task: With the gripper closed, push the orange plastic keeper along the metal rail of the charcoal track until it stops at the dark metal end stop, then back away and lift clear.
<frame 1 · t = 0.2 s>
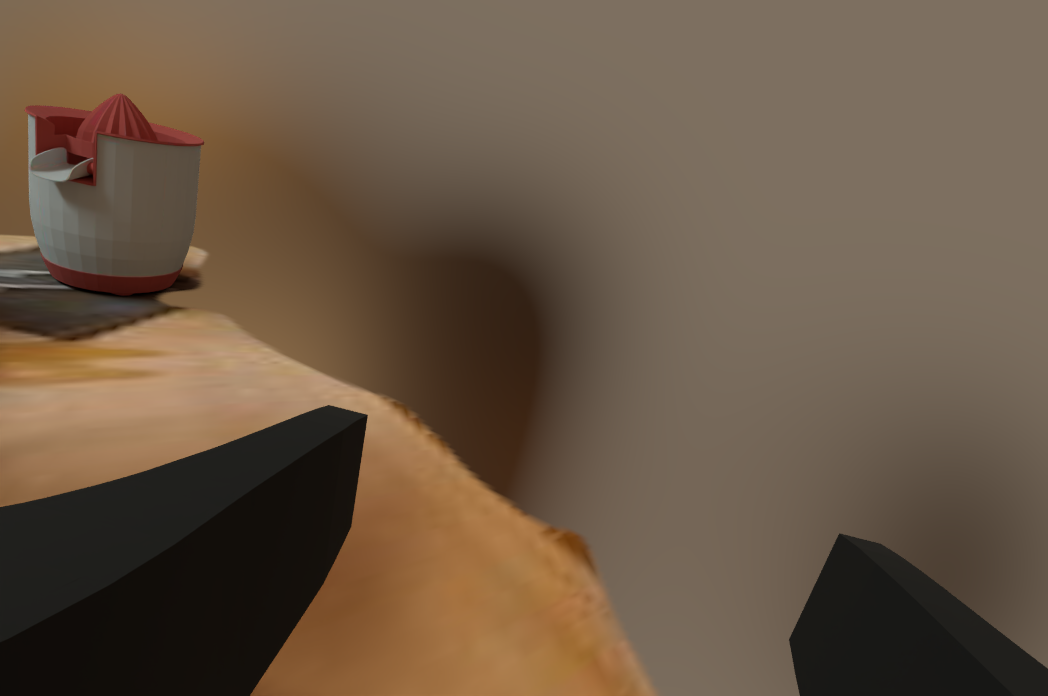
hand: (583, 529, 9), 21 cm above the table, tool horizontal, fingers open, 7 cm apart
citrus juicer: (109, 282, 70), on the table
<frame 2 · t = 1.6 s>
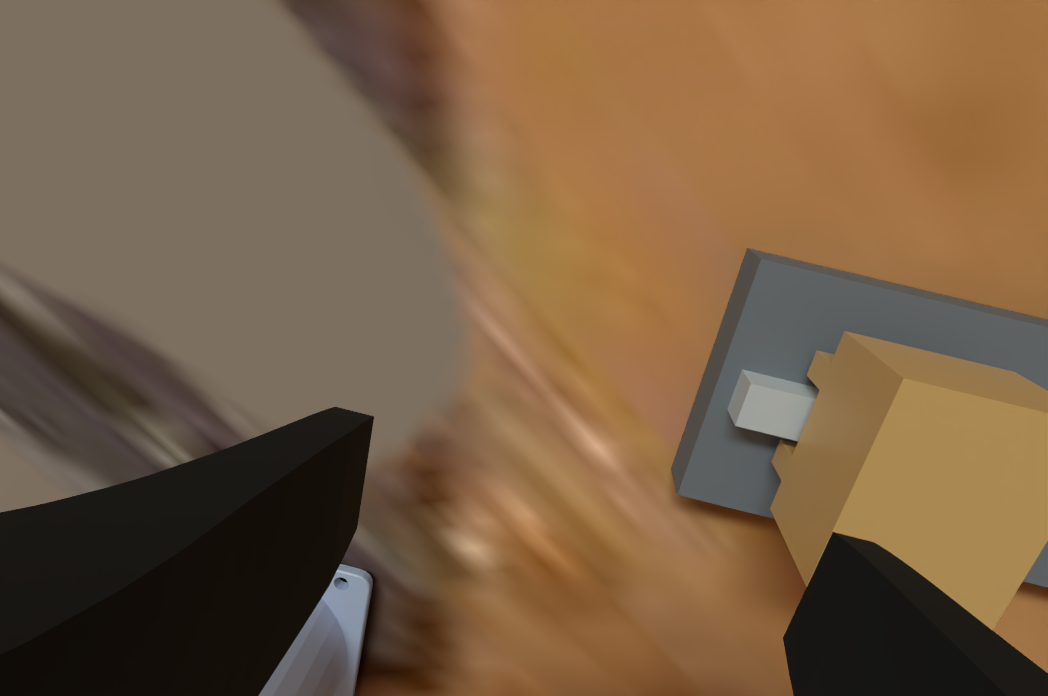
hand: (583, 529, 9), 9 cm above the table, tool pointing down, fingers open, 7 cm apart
track: (980, 432, 18), on the table
keeper: (903, 464, 14), point 4 cm above the table, slide at 0.0 cm
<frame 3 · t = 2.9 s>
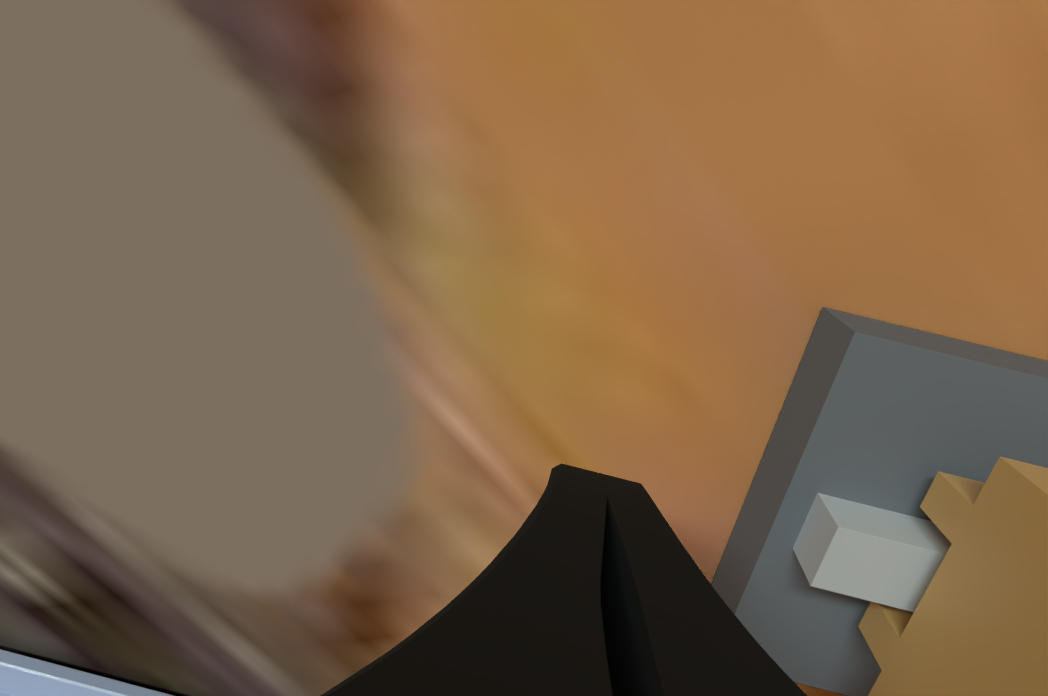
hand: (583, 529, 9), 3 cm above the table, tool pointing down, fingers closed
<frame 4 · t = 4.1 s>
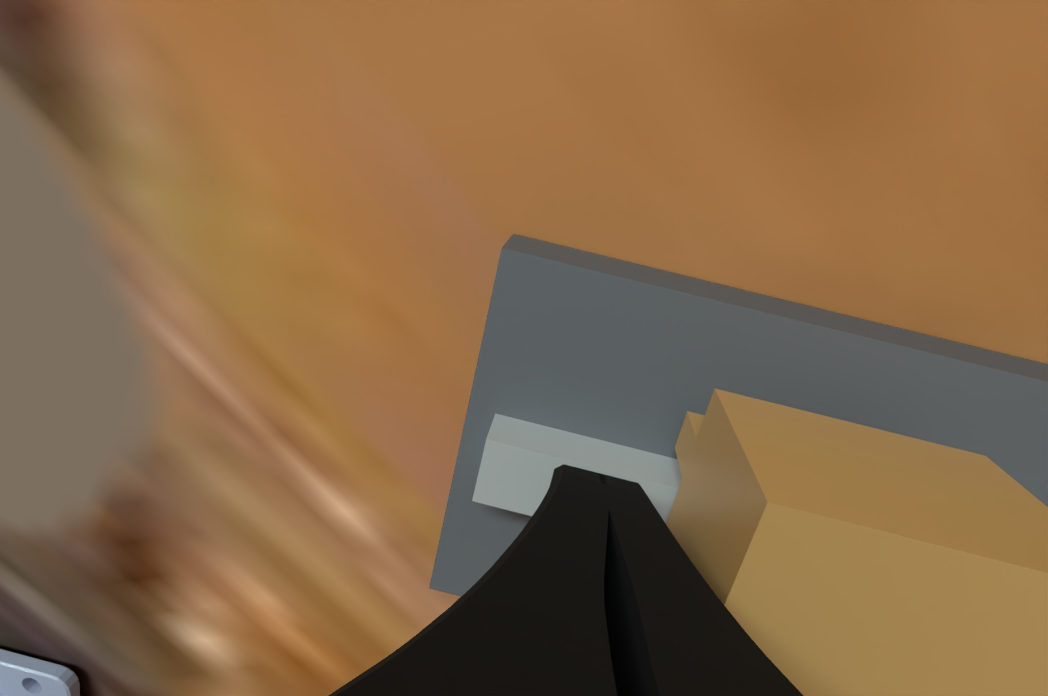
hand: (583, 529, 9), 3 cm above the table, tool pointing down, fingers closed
track: (864, 500, 13), on the table
keeper: (807, 604, 9), point 4 cm above the table, slide at 1.6 cm, touching gripper
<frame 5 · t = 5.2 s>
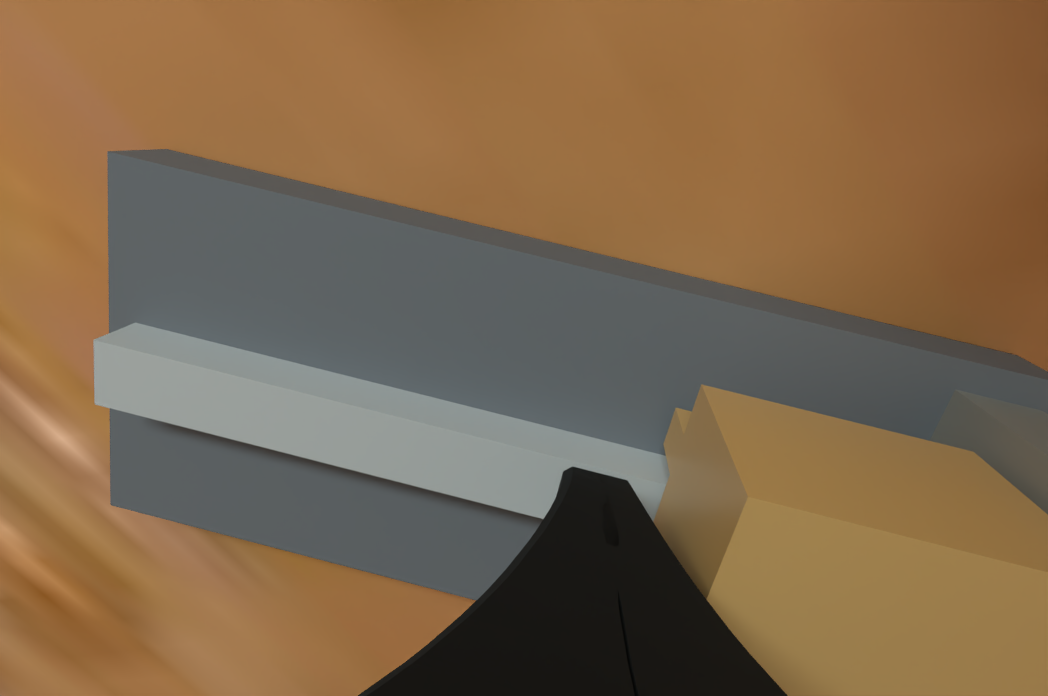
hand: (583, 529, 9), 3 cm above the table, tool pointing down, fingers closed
track: (539, 417, 13), on the table
keeper: (794, 600, 9), point 4 cm above the table, slide at 8.1 cm, touching gripper
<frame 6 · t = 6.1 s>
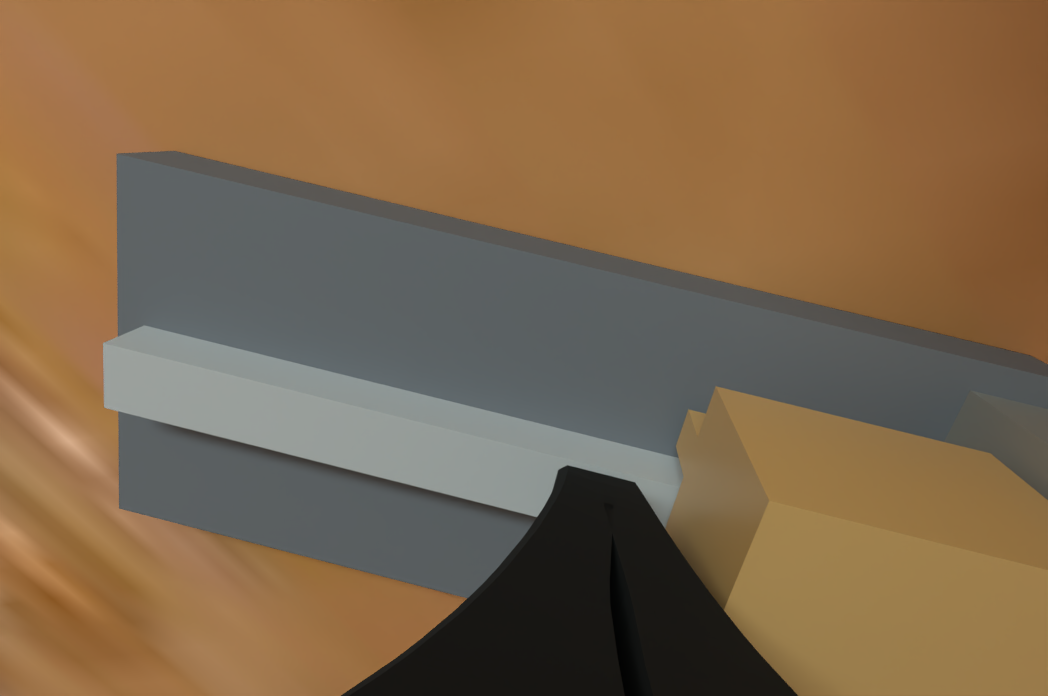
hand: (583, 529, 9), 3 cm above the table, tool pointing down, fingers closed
track: (549, 419, 13), on the table
keeper: (810, 603, 9), point 4 cm above the table, slide at 8.1 cm
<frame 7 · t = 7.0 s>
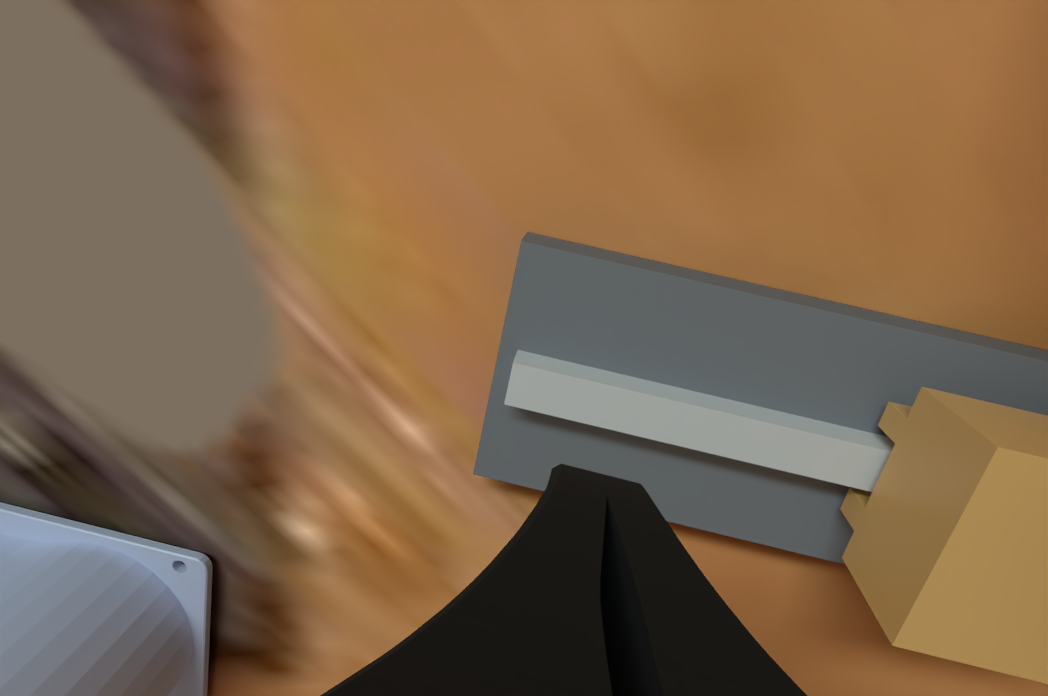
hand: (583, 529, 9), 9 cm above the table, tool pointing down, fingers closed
track: (769, 410, 18), on the table
keeper: (983, 519, 15), point 4 cm above the table, slide at 8.0 cm
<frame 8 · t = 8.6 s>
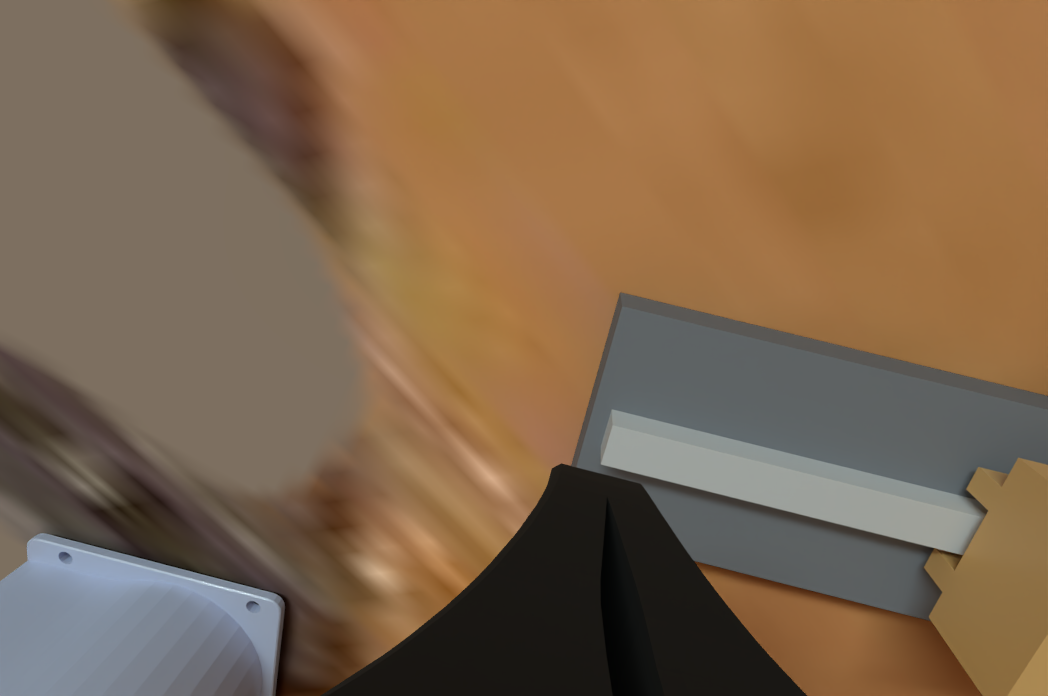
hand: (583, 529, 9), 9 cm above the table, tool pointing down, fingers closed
track: (850, 466, 19), on the table
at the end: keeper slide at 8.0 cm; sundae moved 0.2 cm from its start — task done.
